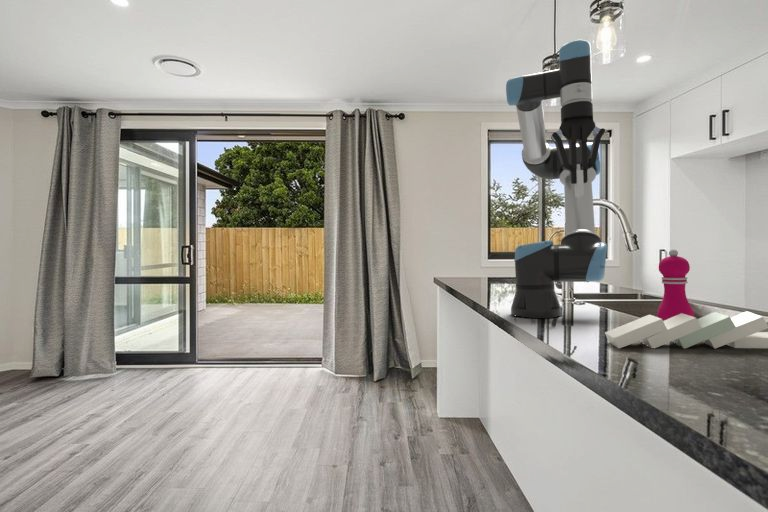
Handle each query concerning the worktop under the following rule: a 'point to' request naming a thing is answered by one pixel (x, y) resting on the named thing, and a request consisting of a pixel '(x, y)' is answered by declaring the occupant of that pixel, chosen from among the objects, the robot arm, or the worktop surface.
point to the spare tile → (706, 329)
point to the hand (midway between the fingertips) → (579, 196)
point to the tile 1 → (635, 331)
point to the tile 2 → (673, 330)
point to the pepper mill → (674, 286)
